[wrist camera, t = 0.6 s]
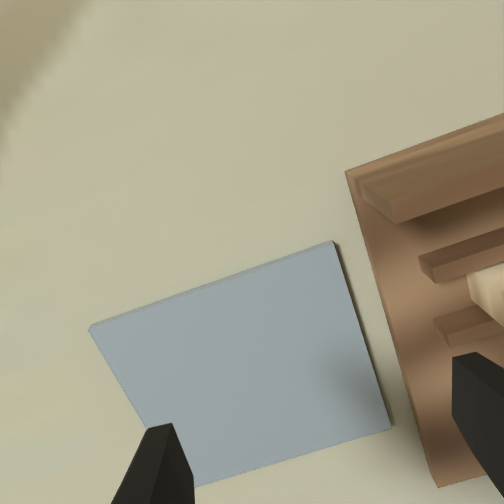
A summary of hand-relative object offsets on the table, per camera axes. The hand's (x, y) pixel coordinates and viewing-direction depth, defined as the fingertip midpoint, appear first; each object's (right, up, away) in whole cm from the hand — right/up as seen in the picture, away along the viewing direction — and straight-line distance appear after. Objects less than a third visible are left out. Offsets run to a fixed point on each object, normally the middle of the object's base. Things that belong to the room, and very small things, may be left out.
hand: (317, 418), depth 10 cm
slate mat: (-2, -3, +12) cm, 12 cm away
